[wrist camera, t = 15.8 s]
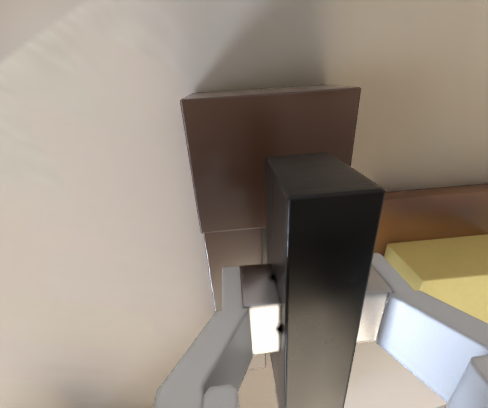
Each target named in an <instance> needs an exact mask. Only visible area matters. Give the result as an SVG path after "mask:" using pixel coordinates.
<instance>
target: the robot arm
mask: <svg viewBox="0 0 488 408" xmlns="http://www.w3.org/2000/svg"><path fill="white" fill-rule="evenodd" d="M240 277H241V278H240ZM281 324H282V302H281V298H280V295H279V291H278V287H277V283H276V282H275V281H274V272H273V268H272V265H271V264H258V265H244V266H240V268H239V266H234V267H223V269H222V310H221V311H216V313H215V314H214V315H213V317H212V318H211V319H210V321H209V322H208V323H207V325H206V326H205V327H204V329H203V330H202V331H201V333H200V334H199V335H198V337H197V338H196V339H195V341H194V342H193V343H192V345H191V346H190V347H189V349H188V350H187V351H186V353H185V354H184V355H183V357H182V358H181V359H180V361H179V362H178V363H177V365H176V366H175V367H174V369H173V370H172V371H171V373H170V374H169V375H168V377H167V378H166V379H165V381H164V382H163V383H162V385H161V386H160V387H159V389H158V390H157V393H156V398H155V403H154V407H153V408H240V406H239V398H238V390H239V388H240V386H241V383H242V381H243V379H244V376H245V374H246V371H247V369H248V367H249V364H250V362H251V360H252V357H253V355H255V354H263V353H270V352H277V351H281V338H282V333H281V329H280V325H281ZM375 341H377V344H378V345H380V346H381V347H382V348H383V349H384V350H385V351H387V352H388V353H389V354H390V355H391V356H393V357H394V358H395V359H396V360H397V361H398V362H400V363H401V364H402V365H403V366H404V367H406V368H407V369H408V370H409V371H410V372H411V373H413V374H414V375H415V376H416V377H417V378H419V379H420V380H421V381H422V382H423V383H424V384H426V385H427V386H428V387H429V388H430V389H432V390H433V391H434V392H435V393H436V394H437V395H439V396H440V397H441V398H442V399H443V400H445V401H446V402H447V405H446V407H445V408H488V323H486V322H484V321H482V320H479V319H477V318H475V317H473V316H471V315H469V314H467V313H465V312H463V311H461V310H459V309H457V308H455V307H453V306H451V305H449V304H447V303H445V302H443V301H441V300H439V299H437V298H434V297H432V296H430V295H428V294H426V293H424V292H422V291H420V290H418V291H414V290H413V289H412V288H411V287H410V285H409V284H408V283H407V282H406V281H405V280H404V279H403V278H402V277H401V276H400V274H399V273H398V272H397V271H396V270H395V269H394V268H393V267H392V266H391V265H390V263H389V262H388V261H387V260H386V259H385V258H384V257H383V256H382V255H381V254H379V253H374V254H373V259H372V264H371V269H370V274H369V279H368V285H367V290H366V295H365V300H364V305H363V310H362V316H361V321H360V326H359V331H358V336H357V341H356V343H362V342H375Z"/></svg>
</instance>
